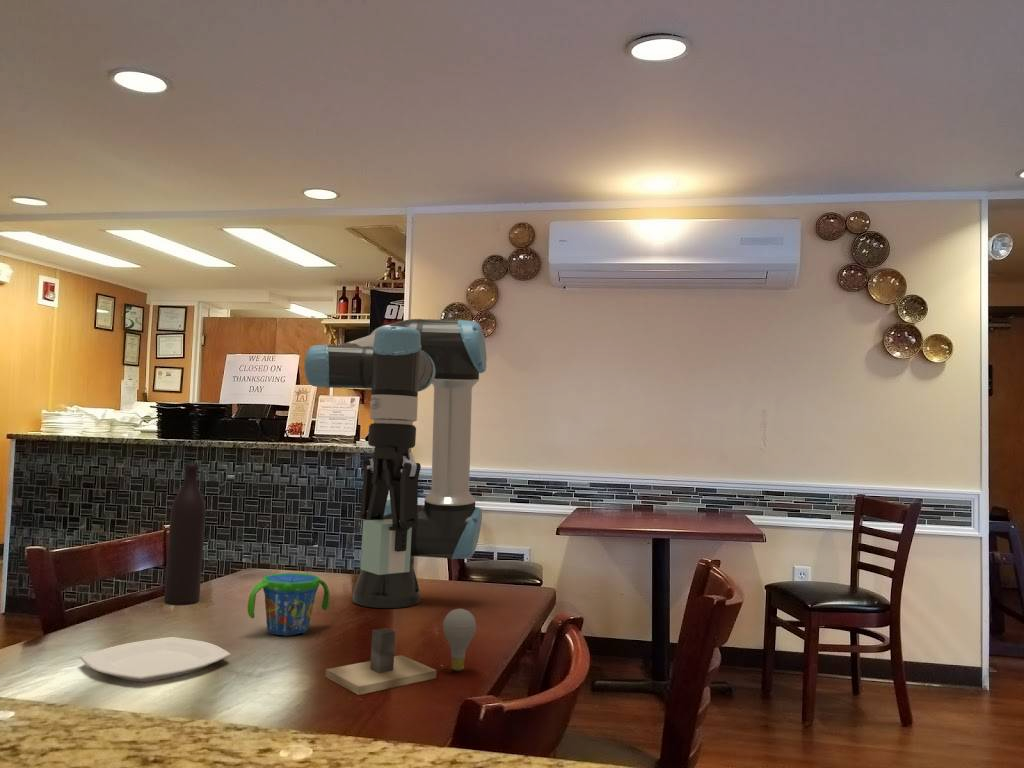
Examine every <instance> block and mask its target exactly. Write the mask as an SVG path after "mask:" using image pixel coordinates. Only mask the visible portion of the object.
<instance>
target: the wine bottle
mask: <svg viewBox="0 0 1024 768" xmlns="http://www.w3.org/2000/svg"><path fill="white" fill-rule="evenodd" d="M199 467H200V465H199V463H198V462H185V464H184V467H183V470H184V478H183V479H184V480H183V484H182V485H181V488H180V489H179V491H178V492H177V494H176V496H175V498H173V499H174V500H173V502H172V504H171V507H170V516H169V527H168V529H169V531H168V541H167V553H166V555H167V559H166V570H165V581H164V584H165V585H164V596H163V600H164V603H166V604H170V605H176V606H177V605H178V606H179V605H189V604H190V605H191V604H194V603H196V602H199V600H200V596H201V594H200V593H201V581H202V568H203V554H204V541H205V539H204V538H205V526H206V504H205V503H206V502H205V499H204V497H203V495H202V493H201V491H200V488H199V485H198V471H199V469H200V468H199Z"/></svg>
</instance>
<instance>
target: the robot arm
mask: <svg viewBox="0 0 1024 768" xmlns="http://www.w3.org/2000/svg"><path fill="white" fill-rule="evenodd" d="M483 331H484V330H483V328H482V327H481V325H480V323H478V322H477V321H474V320H465V319H461V318H460V319H434V318H433V319H430V318H429V319H422V318H411V319H404V320H401V321H396V322H392V323H389V324H385V325H380V326H379V327H376V328H375V329H374V330H372V332H371V333H370V334H369V335H366V336H363V337H360V338H357V339H355V340H351V341H347V342H345V343H341V344H335V345H334V344H327V343H325V344H315V345H311V346H310V347H309V348H308V349H307V351H306V354H305V358H304V374H305V379H306V381H307V383H308V384H309V385H310V386H312V387H317V388H325V389H330V388H331V389H332V388H335V389H365V390H368V389H369V390H371V392H370V394H371V395H370V401H369V406H370V409H369V410H370V411H369V412H370V413H369V419H370V420H373V423H370V424H369V426H368V437H367V438H368V440H367V444H368V445H369V447H374V452H373V455H372V458H370V459H369V458H367V459H366V458H363V460H362V470H363V471H362V473H363V476H362V488H361V503H360V513H359V514H360V520H383V519H392V523H393V526H392V527H389V547H388V566H387V573H393V574H383V575H378V574H374V573H371V572H368V571H364V570H361V569H360V573H359V575H358V578H357V579H356V584H355V586H354V589H353V592H352V602H353V603H354V604H356V605H358V606H359V605H360V606H362V607H367V608H378V609H398V608H406V607H411V606H415V605H417V604H419V603H420V598H421V592H420V588H419V584H418V579H417V576H416V571H415V567H414V566H415V564H414V563H415V557H420V558H421V557H423V558H437V559H438V558H439V559H451V560H455V559H456V560H457V559H460V560H462V559H463V560H466V559H467V560H468V559H470V558H471V557H473V555H474V554H475V551H476V549H477V547H478V542H479V538H480V533H481V527H482V522H483V521H482V520H483V510H482V508H481V507H479V506H476V498H475V497H474V496H473V495H472V494H471V493H470V473H471V472H470V468H471V467H470V465H471V436H472V435H471V433H472V432H471V431H472V397H473V395H472V394H473V387H474V386H475V385H476V384H477V383H478V382H479V381H480V374H483V373H485V372H486V370H487V360H488V359H487V347H486V341H485V336H484V332H483ZM431 385H432V386H433V412H432V413H433V415H432V416H433V417H432V419H433V421H432V450H431V452H432V455H431V456H432V457H431V461H432V462H431V491H430V493H429V494H427V495H426V496H425V497H424V504H419V502H418V498H419V497H418V496H419V495H418V494H419V477H420V473H421V468H422V466H421V464H420V463H419V462H413V461H411V458H410V452H409V450H410V449H413V448H415V446H416V440H417V439H416V438H417V437H416V436H417V427H416V426H415V425H414V422H417V421H418V404H419V403H418V402H419V401H418V399H419V398H418V397H419V392H421V391H425V390H426V389H428V388H429V387H430V386H431ZM388 498H389V499H388ZM399 520H400V522H399ZM411 527H412V533H411V553H410V572H404V571H405V552H406V547H407V531H408V530H409V529H410V528H411ZM398 572H404V573H398Z"/></svg>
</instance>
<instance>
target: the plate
mask: <svg viewBox="0 0 1024 768" xmlns="http://www.w3.org/2000/svg"><path fill="white" fill-rule="evenodd" d="M228 657H231V653H230V652H228V651H227V650H226V649H224V648H222V647H220V646H218V645H216V644H213V643H210V642H207V641H202V640H198V639H197V640H196V639H190V638H182V637H175V636H174V637H173V636H169V637H161V638H153V639H146V640H145V639H144V640H140V641H133V642H128V643H122V644H118V645H114V646H111V647H107V648H104V649H100V650H97V651H94V652H91V653H88V654H84V655H82V656H81V657H80V659H81V661H82V662H83V663H84V664H85V665H87V666H88V667H89V668H90V669H92V670H94V671H97V672H99V673H101V674H105V675H110V676H113V677H115V678H119V679H123V680H127V681H132V682H133V681H134V682H142V683H146V682H152V681H159V680H164V679H169V678H174V677H179V676H183V674H184V675H188V674H191V673H194V672H196V671H198V669H199V670H201V668H202V669H204V668H206V667H209V666H211V665H212V663H213V664H214V663H217V662H219V661H221V660H224V659H226V658H228ZM210 664H211V665H210ZM208 665H209V666H208ZM203 667H204V668H203ZM195 670H196V671H195ZM193 671H194V672H193ZM190 672H191V673H190Z"/></svg>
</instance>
